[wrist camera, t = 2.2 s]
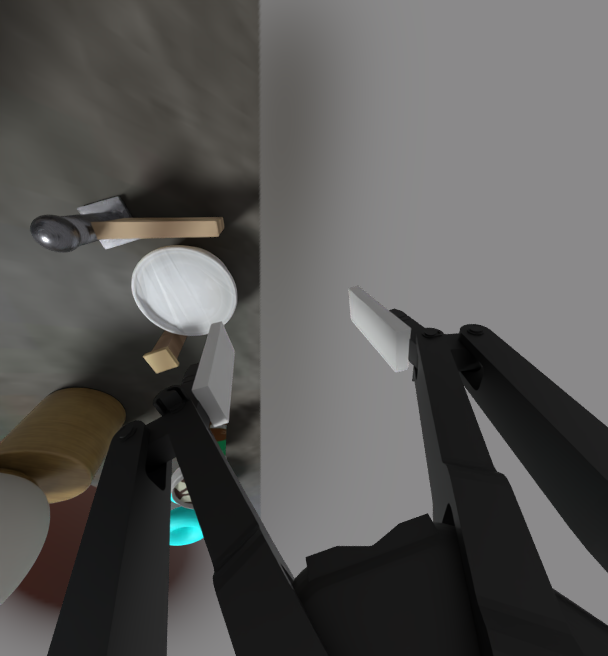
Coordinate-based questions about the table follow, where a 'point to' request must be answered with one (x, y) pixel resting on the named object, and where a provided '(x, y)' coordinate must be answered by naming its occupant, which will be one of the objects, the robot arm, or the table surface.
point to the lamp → (49, 470)
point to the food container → (177, 480)
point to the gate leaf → (159, 227)
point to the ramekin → (184, 289)
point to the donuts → (184, 526)
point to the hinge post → (79, 226)
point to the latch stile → (165, 352)
